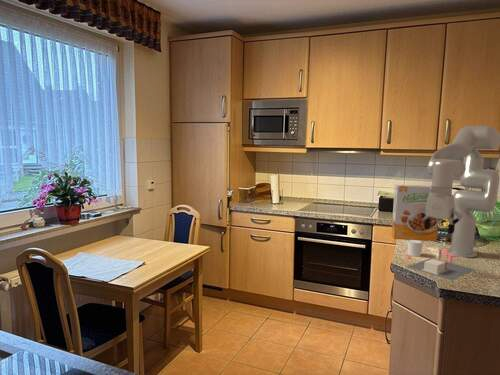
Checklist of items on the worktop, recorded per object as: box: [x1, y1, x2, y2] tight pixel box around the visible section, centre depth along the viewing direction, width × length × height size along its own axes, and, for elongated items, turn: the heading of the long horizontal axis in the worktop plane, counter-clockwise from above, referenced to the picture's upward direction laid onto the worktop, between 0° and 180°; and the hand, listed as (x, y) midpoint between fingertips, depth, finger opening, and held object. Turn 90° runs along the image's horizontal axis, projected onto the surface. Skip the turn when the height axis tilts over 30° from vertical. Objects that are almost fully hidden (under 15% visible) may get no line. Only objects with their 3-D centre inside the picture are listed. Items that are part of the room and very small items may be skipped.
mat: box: [406, 257, 476, 281], centre depth 160 cm, size 22×19×1 cm
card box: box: [424, 257, 448, 274], centre depth 157 cm, size 8×6×4 cm
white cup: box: [406, 240, 424, 257], centre depth 179 cm, size 7×7×7 cm
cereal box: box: [391, 184, 439, 242], centre depth 209 cm, size 22×6×30 cm, turn 82°
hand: (438, 231), depth 156 cm, fingers open, 9 cm apart
